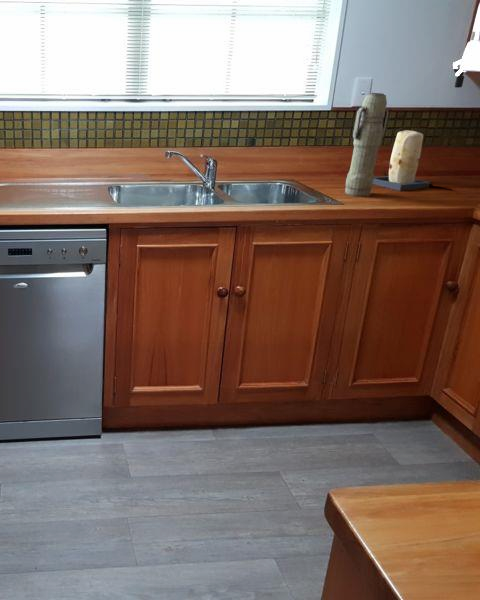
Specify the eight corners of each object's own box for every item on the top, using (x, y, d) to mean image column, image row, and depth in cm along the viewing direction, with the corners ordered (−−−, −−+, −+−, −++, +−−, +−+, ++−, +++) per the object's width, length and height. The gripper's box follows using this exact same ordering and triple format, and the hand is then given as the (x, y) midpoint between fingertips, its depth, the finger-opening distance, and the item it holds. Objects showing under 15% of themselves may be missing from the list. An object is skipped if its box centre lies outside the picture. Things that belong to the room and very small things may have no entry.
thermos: (379, 195, 221) (400, 94, 207) (353, 197, 217) (373, 94, 203) (360, 190, 228) (379, 92, 215) (335, 192, 224) (353, 92, 211)
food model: (413, 183, 237) (425, 131, 230) (413, 186, 232) (425, 133, 224) (385, 180, 241) (396, 129, 234) (385, 183, 236) (396, 131, 228)
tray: (428, 188, 234) (430, 182, 233) (399, 191, 228) (401, 185, 227) (396, 180, 246) (397, 175, 245) (368, 183, 240) (369, 177, 239)
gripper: (514, 37, 211) (500, 89, 218) (467, 38, 226) (455, 86, 233) (500, 37, 209) (486, 90, 215) (453, 37, 223) (442, 86, 230)
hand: (470, 88), depth 224 cm, fingers open, 9 cm apart
